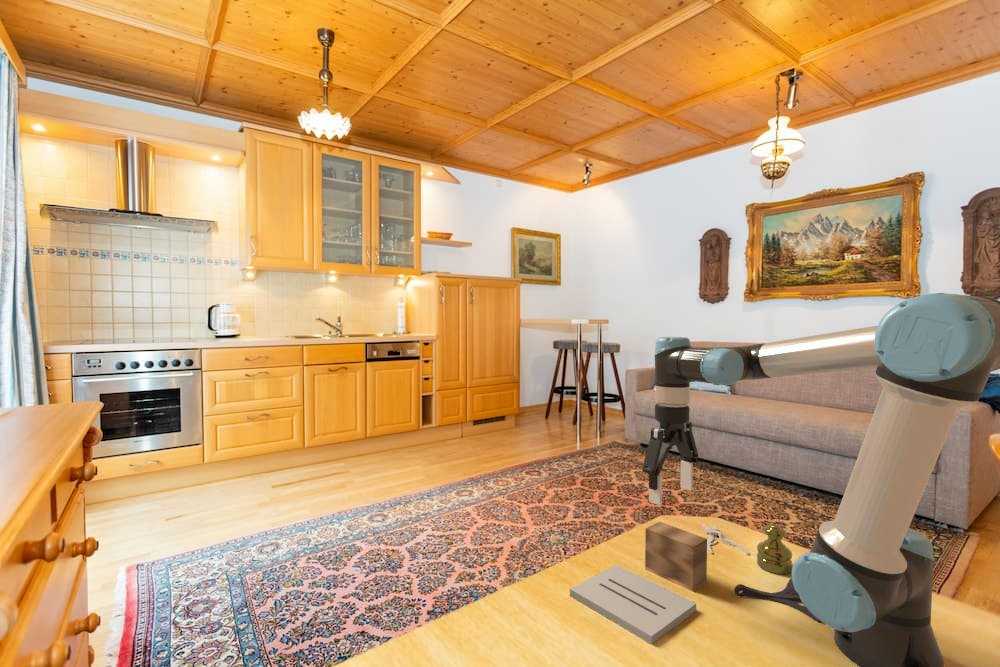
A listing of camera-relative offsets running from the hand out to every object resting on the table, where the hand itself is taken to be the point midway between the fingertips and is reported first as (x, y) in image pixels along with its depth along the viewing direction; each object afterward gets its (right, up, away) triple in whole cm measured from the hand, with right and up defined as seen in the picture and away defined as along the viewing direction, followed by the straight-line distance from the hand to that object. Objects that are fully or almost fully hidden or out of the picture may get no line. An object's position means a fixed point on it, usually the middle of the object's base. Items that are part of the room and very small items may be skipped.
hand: (671, 495), depth 111 cm
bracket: (+19, -20, -8) cm, 28 cm away
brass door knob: (+26, -19, +5) cm, 33 cm away
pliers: (+19, -19, +18) cm, 32 cm away
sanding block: (+1, -19, +1) cm, 19 cm away
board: (-12, -19, -10) cm, 25 cm away
